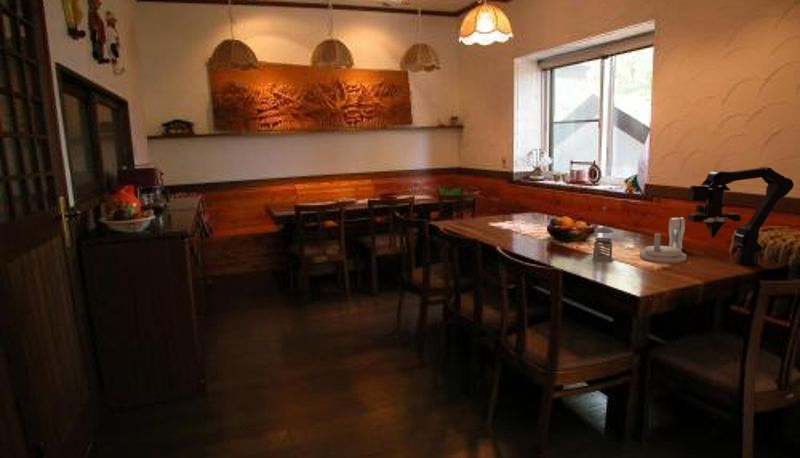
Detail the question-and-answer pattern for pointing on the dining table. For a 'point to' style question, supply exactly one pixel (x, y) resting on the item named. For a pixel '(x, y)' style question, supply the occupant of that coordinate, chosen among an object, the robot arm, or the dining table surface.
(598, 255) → the french press
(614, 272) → the dining table surface
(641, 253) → the base
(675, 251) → the dial
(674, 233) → the beer glass
